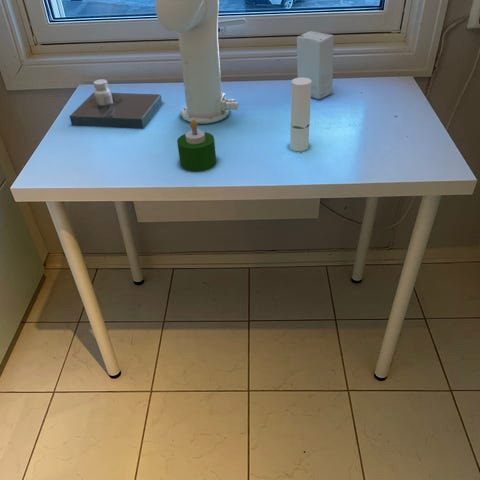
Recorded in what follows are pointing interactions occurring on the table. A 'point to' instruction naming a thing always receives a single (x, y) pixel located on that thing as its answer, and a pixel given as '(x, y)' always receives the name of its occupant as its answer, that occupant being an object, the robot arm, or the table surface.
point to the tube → (300, 113)
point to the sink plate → (117, 111)
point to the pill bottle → (102, 92)
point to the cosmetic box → (316, 61)
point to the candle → (196, 149)
